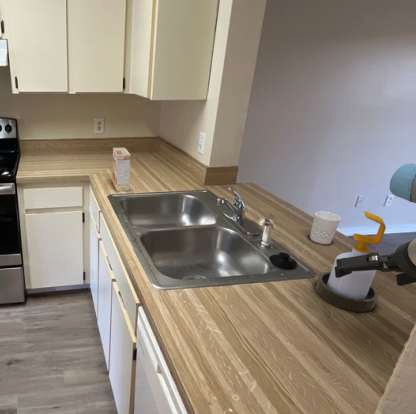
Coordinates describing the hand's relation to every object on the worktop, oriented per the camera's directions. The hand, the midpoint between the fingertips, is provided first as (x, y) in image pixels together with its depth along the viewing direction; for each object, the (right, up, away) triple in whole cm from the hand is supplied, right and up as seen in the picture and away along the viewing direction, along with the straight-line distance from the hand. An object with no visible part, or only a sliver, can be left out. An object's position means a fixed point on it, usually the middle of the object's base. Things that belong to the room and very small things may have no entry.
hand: (366, 276), depth 84 cm
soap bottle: (+2, -7, +10) cm, 12 cm away
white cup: (+15, +5, +40) cm, 43 cm away
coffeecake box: (-56, +29, +95) cm, 114 cm away
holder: (+2, -8, +10) cm, 13 cm away
